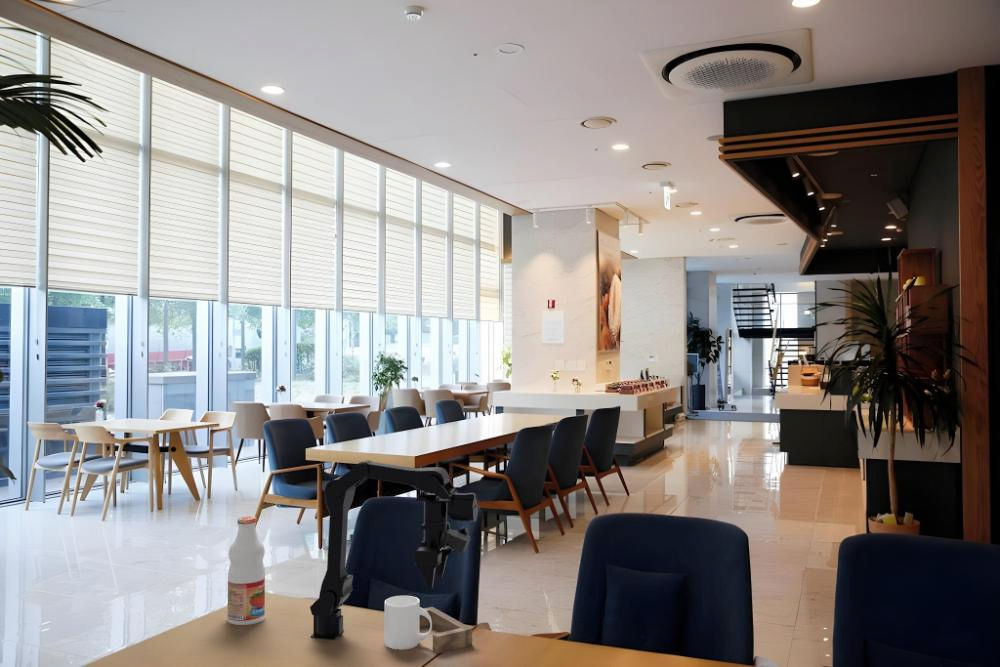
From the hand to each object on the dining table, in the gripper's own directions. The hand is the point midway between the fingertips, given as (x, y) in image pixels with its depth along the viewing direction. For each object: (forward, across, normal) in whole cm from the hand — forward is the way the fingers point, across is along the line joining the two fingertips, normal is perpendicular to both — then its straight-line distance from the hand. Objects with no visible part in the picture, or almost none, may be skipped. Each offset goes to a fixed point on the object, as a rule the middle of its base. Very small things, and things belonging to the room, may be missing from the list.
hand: (435, 583), depth 192 cm
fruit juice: (+16, +5, +53) cm, 56 cm away
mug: (+15, -1, +6) cm, 17 cm away
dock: (+15, +6, +2) cm, 16 cm away
